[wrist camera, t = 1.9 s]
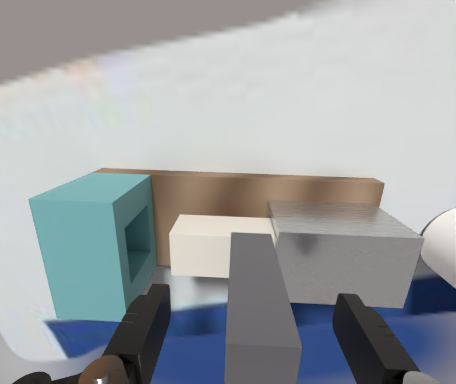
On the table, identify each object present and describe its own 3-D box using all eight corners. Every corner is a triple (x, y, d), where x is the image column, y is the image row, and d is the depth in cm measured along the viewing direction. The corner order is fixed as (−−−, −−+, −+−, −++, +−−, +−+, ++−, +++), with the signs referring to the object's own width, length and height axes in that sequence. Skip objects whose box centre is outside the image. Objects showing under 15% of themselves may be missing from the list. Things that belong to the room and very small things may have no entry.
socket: (150, 174, 19) (112, 202, 13) (157, 265, 21) (127, 321, 15) (92, 172, 19) (28, 199, 13) (105, 262, 21) (56, 318, 15)
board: (373, 178, 20) (384, 183, 18) (354, 264, 22) (362, 274, 21) (102, 168, 20) (92, 172, 19) (113, 253, 23) (105, 262, 21)
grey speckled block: (373, 203, 19) (424, 238, 14) (360, 258, 20) (402, 308, 15) (267, 199, 19) (279, 232, 14) (263, 253, 20) (272, 301, 15)
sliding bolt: (375, 218, 17) (560, 361, 7) (365, 262, 19) (513, 437, 9) (179, 210, 18) (106, 337, 8) (181, 253, 19) (119, 412, 9)
